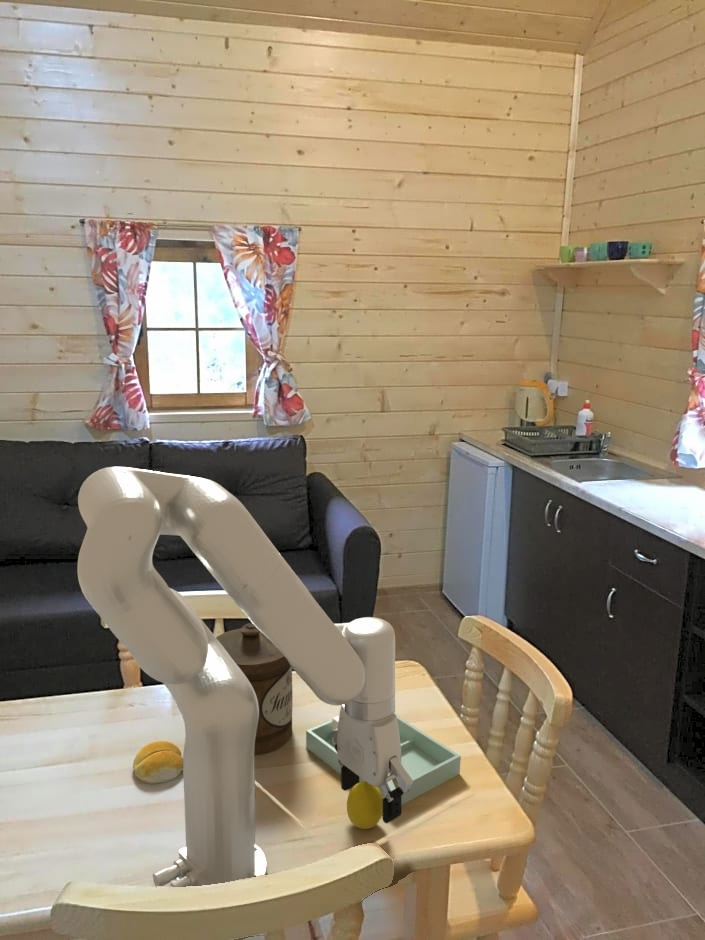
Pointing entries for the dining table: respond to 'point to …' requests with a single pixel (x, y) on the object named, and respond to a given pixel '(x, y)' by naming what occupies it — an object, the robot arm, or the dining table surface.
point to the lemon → (364, 805)
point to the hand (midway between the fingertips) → (370, 802)
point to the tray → (418, 757)
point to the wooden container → (264, 684)
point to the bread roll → (158, 762)
